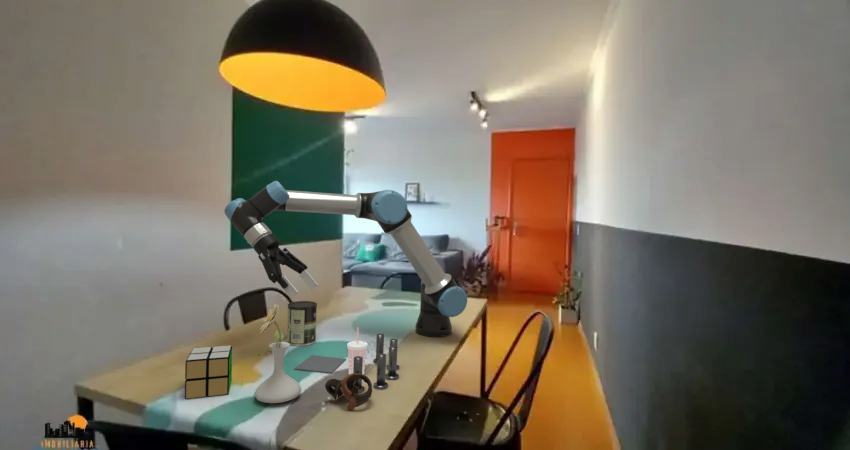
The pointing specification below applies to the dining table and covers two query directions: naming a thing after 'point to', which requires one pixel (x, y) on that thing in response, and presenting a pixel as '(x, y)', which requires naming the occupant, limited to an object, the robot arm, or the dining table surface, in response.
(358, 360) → the posts
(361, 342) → the beverage cup
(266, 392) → the flower in vase
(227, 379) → the puzzle cube
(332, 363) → the mat
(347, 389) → the pottery mug
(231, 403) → the dining table surface
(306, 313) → the coffee can
